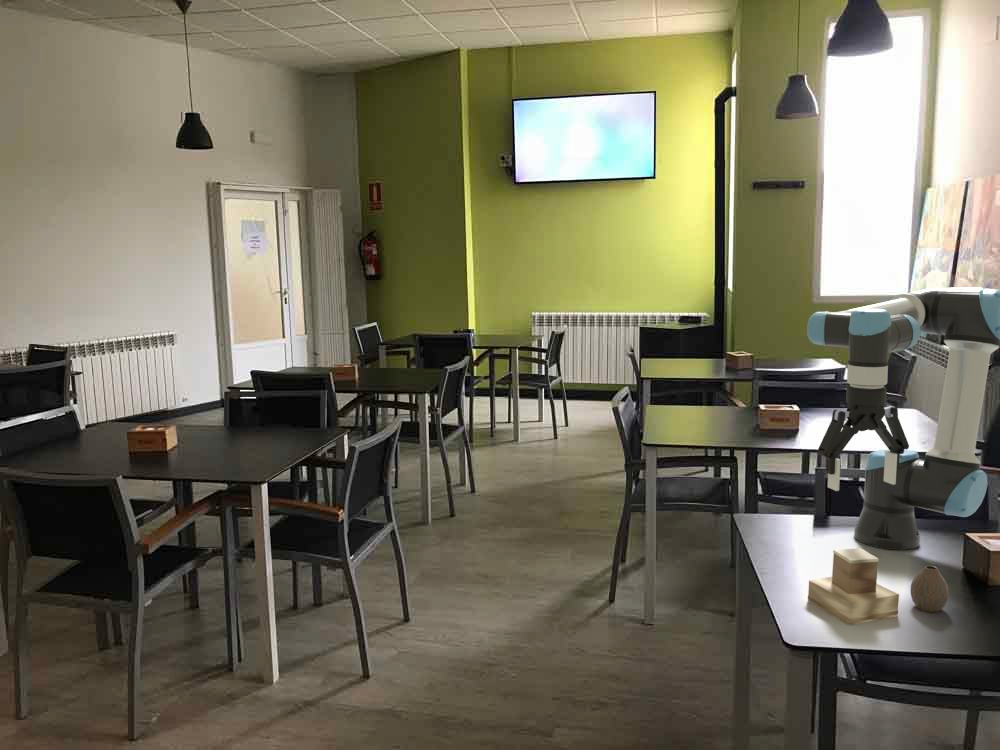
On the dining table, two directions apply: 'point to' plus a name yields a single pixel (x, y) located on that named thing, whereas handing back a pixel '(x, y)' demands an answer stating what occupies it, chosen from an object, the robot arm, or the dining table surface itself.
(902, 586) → the dining table surface
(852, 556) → the pale wooden block
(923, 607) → the vase
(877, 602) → the beech base
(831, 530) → the dining table surface
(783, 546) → the dining table surface
